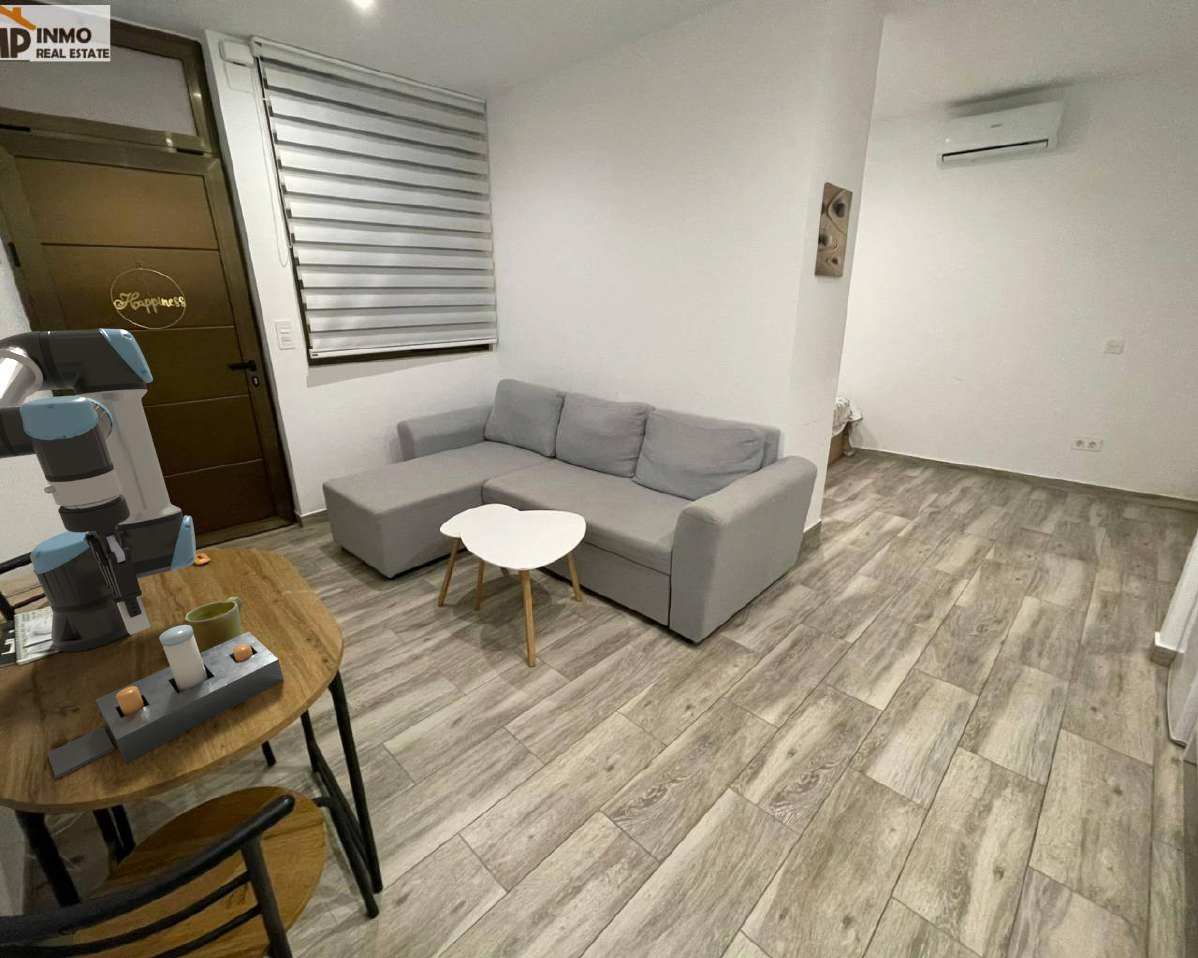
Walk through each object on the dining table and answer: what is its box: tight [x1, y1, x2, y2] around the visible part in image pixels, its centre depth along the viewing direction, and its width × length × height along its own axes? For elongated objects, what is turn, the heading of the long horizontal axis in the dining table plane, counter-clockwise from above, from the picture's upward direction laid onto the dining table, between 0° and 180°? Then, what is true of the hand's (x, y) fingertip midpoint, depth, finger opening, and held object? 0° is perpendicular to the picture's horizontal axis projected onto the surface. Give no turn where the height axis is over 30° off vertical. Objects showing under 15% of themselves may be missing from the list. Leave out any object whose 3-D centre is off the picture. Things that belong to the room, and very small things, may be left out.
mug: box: [184, 596, 243, 653], centre depth 113 cm, size 12×10×10 cm
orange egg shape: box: [233, 644, 253, 663], centre depth 103 cm, size 3×3×6 cm
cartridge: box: [158, 624, 208, 693], centre depth 95 cm, size 5×5×15 cm
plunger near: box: [116, 686, 145, 717], centre depth 89 cm, size 3×3×6 cm
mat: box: [47, 726, 116, 780], centre depth 86 cm, size 7×7×1 cm
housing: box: [95, 631, 284, 764], centre depth 97 cm, size 14×24×5 cm, turn 142°
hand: (139, 629), depth 88 cm, fingers closed
